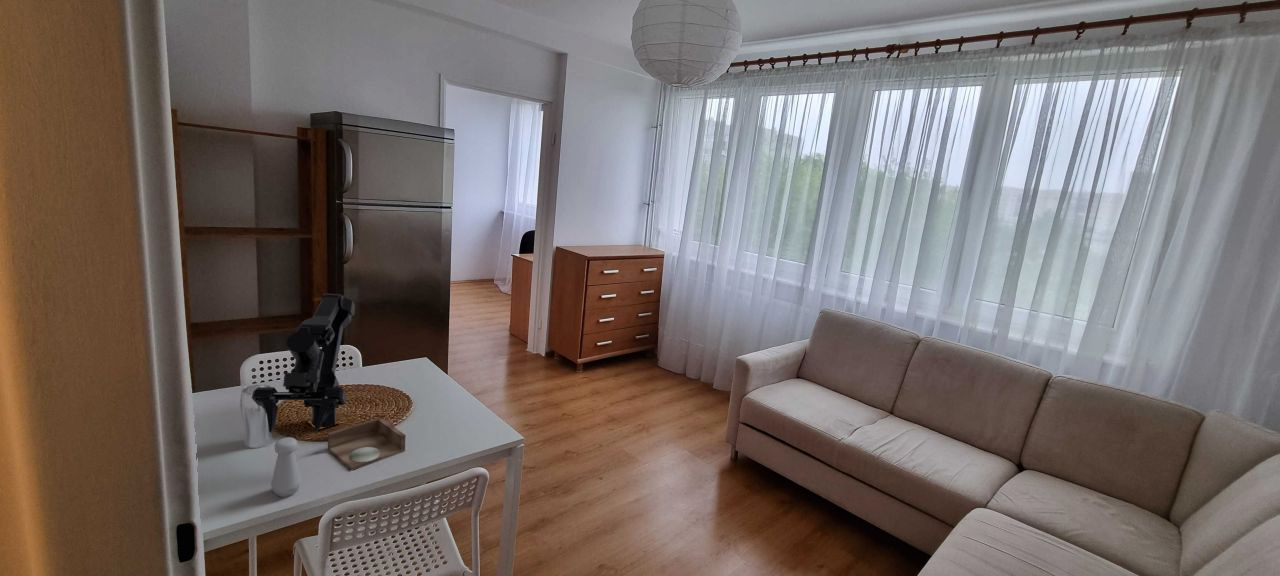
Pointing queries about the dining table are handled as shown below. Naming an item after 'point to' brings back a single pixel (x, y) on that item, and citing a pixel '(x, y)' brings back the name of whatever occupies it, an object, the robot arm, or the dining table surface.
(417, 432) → the dining table surface
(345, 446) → the corner tray
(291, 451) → the salt shaker
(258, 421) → the beer glass
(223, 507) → the dining table surface
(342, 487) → the dining table surface
